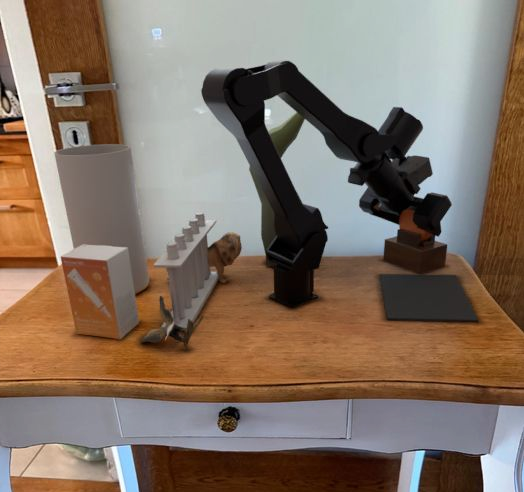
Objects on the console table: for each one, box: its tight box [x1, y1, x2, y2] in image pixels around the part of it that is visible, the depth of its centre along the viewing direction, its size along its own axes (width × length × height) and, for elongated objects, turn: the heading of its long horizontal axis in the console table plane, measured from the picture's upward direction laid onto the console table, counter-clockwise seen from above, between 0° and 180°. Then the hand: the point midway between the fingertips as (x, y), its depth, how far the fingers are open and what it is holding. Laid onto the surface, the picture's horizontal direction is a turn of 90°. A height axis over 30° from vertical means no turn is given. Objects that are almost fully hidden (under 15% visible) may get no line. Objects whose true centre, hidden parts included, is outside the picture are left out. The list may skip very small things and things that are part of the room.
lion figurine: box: [166, 231, 243, 284], centre depth 105 cm, size 15×5×9 cm, turn 97°
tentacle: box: [248, 111, 306, 268], centre depth 107 cm, size 9×12×30 cm
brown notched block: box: [382, 228, 448, 275], centre depth 110 cm, size 7×10×7 cm
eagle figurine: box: [140, 295, 204, 351], centre depth 83 cm, size 8×7×9 cm
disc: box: [398, 209, 432, 242], centre depth 108 cm, size 2×7×7 cm, turn 33°
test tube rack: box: [152, 211, 219, 329], centre depth 95 cm, size 25×4×13 cm, turn 172°
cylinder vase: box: [53, 143, 150, 295], centre depth 99 cm, size 12×12×25 cm
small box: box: [60, 244, 140, 340], centre depth 86 cm, size 8×6×13 cm
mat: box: [379, 273, 479, 323], centre depth 96 cm, size 20×14×1 cm
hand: (421, 229), depth 109 cm, fingers open, 9 cm apart
